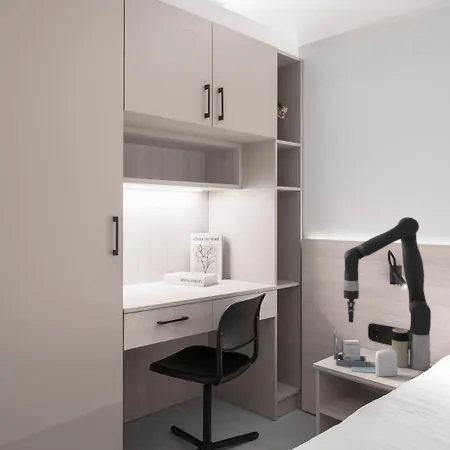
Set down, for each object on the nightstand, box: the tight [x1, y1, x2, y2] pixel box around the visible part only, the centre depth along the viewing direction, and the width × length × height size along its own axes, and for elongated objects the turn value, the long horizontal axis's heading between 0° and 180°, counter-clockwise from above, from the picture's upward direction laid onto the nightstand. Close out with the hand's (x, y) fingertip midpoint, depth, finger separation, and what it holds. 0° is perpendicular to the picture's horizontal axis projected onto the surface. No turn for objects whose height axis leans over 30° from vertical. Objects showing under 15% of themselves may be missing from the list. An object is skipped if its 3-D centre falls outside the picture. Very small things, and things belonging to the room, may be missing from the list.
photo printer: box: [374, 348, 398, 377], centre depth 226 cm, size 10×4×12 cm, turn 96°
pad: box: [351, 366, 376, 374], centre depth 234 cm, size 11×7×1 cm, turn 74°
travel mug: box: [391, 327, 410, 368], centre depth 241 cm, size 8×8×18 cm
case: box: [333, 328, 367, 368], centre depth 245 cm, size 16×11×16 cm
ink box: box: [341, 339, 361, 361], centre depth 245 cm, size 9×5×12 cm, turn 84°
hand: (351, 320), depth 244 cm, fingers open, 8 cm apart
